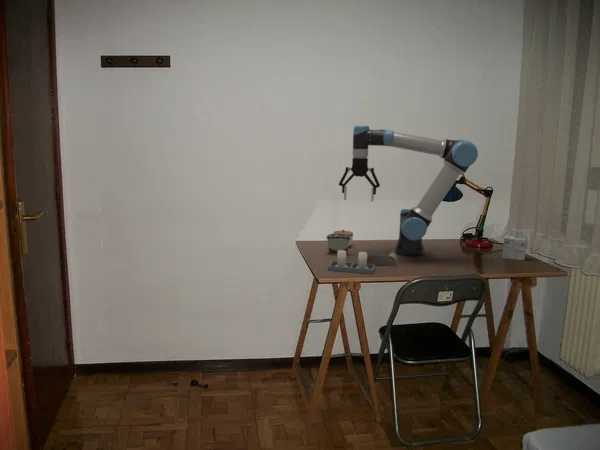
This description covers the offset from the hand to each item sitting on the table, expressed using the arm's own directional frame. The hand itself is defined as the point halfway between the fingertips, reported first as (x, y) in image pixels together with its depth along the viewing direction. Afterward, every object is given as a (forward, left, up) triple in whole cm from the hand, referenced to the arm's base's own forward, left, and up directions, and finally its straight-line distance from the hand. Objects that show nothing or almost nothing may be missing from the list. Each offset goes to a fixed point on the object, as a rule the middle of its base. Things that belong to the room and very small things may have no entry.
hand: (358, 200), depth 252 cm
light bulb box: (-78, -20, -29) cm, 86 cm away
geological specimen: (-13, +8, -29) cm, 33 cm away
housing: (-1, +24, -29) cm, 38 cm away
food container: (+10, -3, -29) cm, 31 cm away
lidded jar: (+10, -19, -29) cm, 36 cm away
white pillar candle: (-6, +25, -28) cm, 38 cm away
